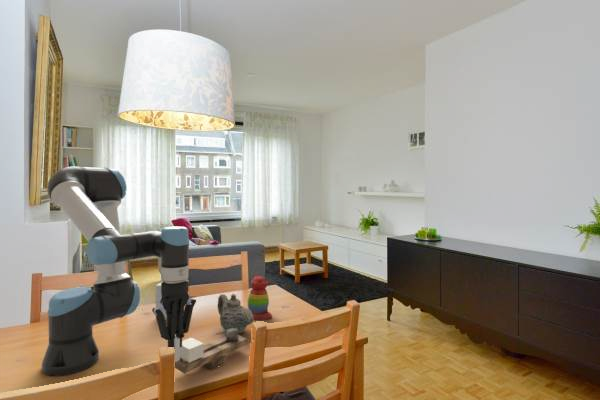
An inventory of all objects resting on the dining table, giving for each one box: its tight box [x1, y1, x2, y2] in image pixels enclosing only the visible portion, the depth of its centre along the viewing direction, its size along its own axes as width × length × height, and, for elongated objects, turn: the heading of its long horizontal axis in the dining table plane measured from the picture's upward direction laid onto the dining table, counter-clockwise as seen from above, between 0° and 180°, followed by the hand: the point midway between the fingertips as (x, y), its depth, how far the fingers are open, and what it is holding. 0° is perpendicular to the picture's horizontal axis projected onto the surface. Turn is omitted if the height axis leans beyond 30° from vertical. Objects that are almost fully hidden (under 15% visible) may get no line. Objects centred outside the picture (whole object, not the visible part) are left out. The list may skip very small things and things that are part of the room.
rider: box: [180, 337, 205, 363], centre depth 104 cm, size 5×6×6 cm
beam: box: [174, 328, 248, 375], centre depth 111 cm, size 24×7×8 cm, turn 141°
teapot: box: [217, 293, 255, 335], centre depth 136 cm, size 21×12×15 cm, turn 48°
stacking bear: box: [247, 275, 273, 321], centre depth 152 cm, size 11×10×18 cm
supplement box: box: [155, 282, 167, 321], centre depth 150 cm, size 9×9×15 cm
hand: (174, 359), depth 100 cm, fingers closed
